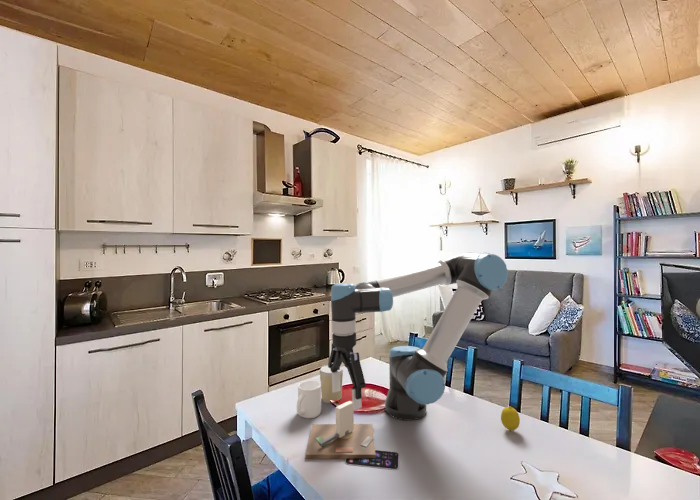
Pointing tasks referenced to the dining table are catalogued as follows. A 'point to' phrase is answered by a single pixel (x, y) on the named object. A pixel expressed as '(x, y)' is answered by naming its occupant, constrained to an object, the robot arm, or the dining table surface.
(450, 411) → the dining table surface
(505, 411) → the lemon
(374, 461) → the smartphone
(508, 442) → the dining table surface
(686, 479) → the dining table surface
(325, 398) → the coffee cup
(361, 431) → the board
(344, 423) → the beige flat block
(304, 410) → the mug
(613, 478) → the dining table surface
